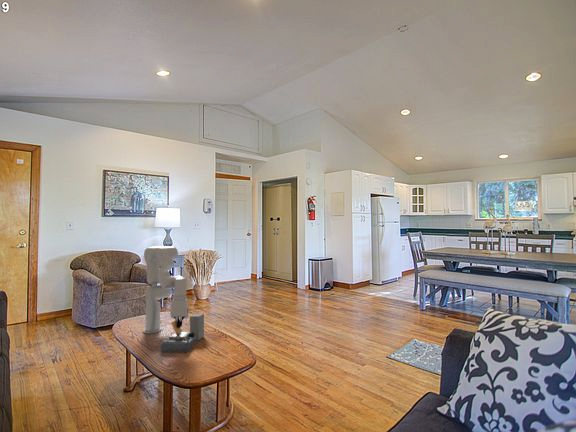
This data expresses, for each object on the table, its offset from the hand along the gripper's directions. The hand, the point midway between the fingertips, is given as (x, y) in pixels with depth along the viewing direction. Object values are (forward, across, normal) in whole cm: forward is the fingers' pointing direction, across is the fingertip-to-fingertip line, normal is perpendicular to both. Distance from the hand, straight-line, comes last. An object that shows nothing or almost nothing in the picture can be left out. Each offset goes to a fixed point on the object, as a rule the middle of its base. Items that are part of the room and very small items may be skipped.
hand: (179, 327), depth 188 cm
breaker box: (+12, 0, 0) cm, 12 cm away
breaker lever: (+4, 0, 0) cm, 4 cm away
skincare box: (+13, +6, +15) cm, 21 cm away
